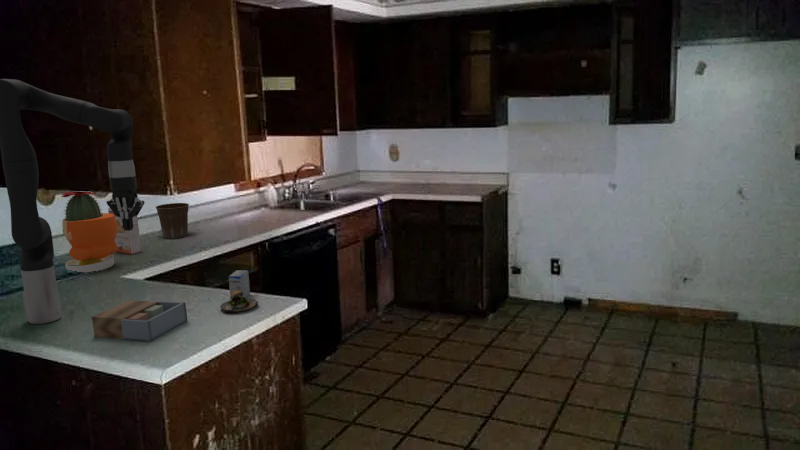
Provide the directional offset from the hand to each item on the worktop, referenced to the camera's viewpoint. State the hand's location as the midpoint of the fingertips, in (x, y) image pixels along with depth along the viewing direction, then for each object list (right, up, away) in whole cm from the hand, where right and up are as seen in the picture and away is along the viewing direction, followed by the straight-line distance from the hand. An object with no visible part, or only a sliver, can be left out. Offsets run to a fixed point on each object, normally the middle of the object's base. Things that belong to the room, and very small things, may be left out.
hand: (128, 230), depth 205 cm
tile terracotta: (+7, -27, -12) cm, 31 cm away
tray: (+12, -30, -9) cm, 34 cm away
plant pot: (-30, -4, +131) cm, 134 cm away
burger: (+33, -26, +8) cm, 43 cm away
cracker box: (-42, -11, +99) cm, 108 cm away
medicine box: (+30, -23, +20) cm, 43 cm away
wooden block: (+3, -30, -7) cm, 30 cm away
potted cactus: (-44, -16, +72) cm, 86 cm away
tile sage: (+9, -26, -5) cm, 28 cm away
